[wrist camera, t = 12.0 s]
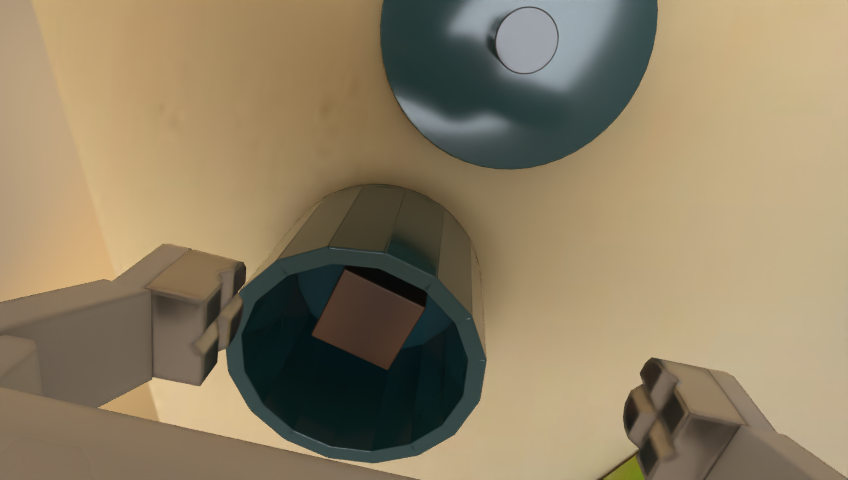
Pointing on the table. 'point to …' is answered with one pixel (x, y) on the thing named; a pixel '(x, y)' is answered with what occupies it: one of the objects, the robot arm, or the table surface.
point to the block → (370, 314)
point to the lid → (515, 72)
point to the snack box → (627, 471)
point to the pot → (344, 372)
